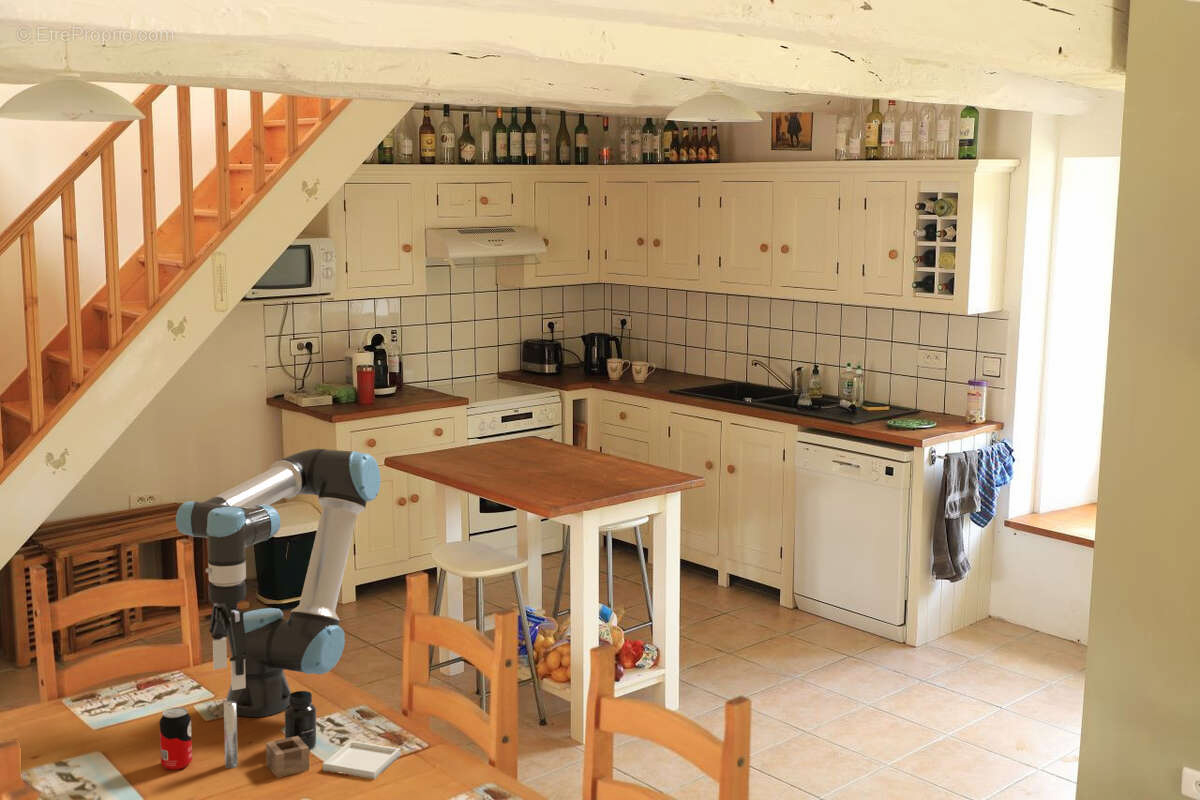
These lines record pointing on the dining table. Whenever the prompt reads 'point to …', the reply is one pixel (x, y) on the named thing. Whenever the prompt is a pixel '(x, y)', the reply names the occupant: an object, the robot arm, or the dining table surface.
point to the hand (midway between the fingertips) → (229, 678)
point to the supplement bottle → (301, 718)
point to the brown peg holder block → (287, 756)
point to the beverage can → (175, 738)
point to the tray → (362, 759)
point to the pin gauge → (230, 734)
